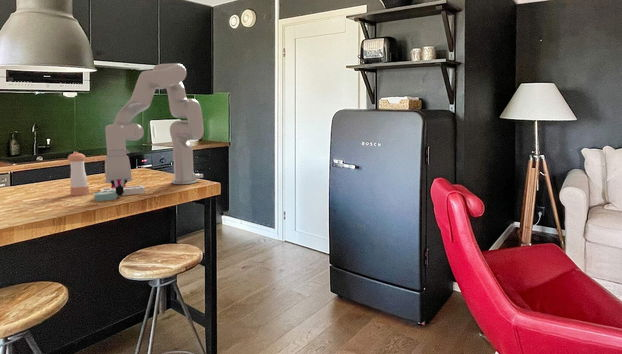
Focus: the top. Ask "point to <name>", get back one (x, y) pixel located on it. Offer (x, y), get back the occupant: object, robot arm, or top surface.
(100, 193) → the stub
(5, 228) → the top surface
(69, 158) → the pepper shaker
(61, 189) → the top surface
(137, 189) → the ticket
